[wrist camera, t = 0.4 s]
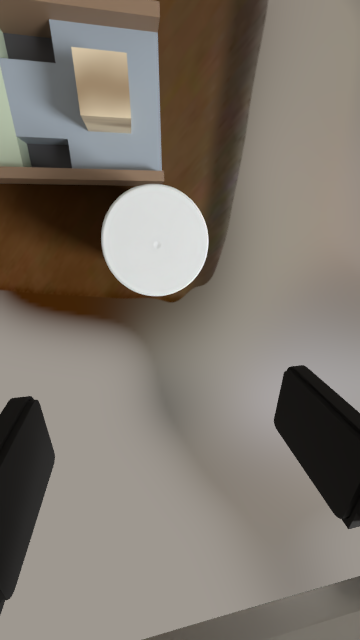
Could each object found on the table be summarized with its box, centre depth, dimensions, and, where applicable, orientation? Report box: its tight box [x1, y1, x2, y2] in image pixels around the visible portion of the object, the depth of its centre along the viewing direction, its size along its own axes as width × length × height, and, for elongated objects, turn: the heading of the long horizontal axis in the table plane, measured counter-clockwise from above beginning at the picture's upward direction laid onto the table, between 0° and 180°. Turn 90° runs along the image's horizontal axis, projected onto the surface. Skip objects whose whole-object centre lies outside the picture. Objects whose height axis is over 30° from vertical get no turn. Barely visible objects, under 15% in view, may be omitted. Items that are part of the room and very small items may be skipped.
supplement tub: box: [101, 184, 208, 296], centre depth 27 cm, size 10×10×15 cm
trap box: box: [0, 0, 164, 186], centre depth 24 cm, size 14×24×5 cm, turn 90°
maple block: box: [71, 47, 131, 133], centre depth 23 cm, size 4×4×4 cm
